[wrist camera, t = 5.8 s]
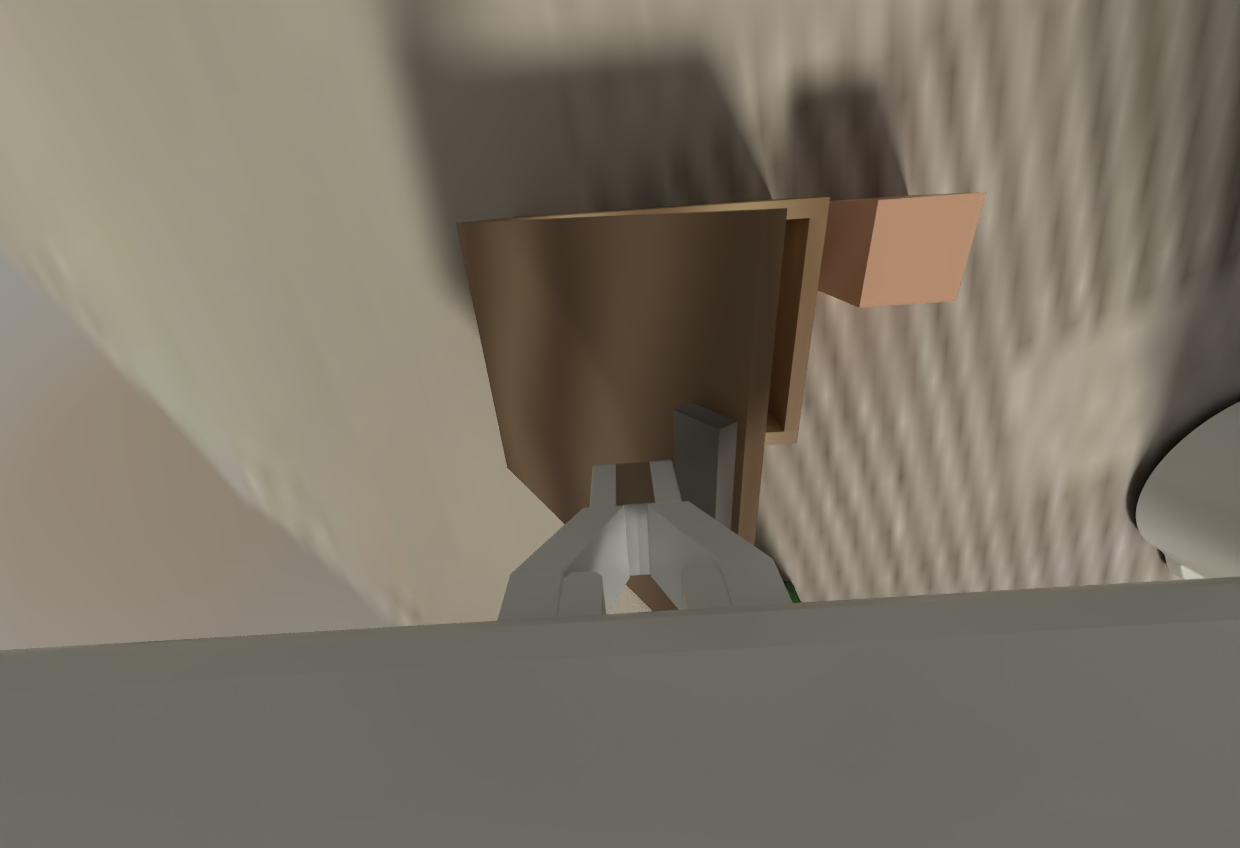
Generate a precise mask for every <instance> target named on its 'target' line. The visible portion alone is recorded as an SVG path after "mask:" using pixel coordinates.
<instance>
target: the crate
mask: <svg viewBox="0 0 1240 848" xmlns="http://www.w3.org/2000/svg"><path fill="white" fill-rule="evenodd" d="M829 202H830V197H818V198H795V199H773V200H759V201H744V202H730V203H715V204H701V205H687V206H672V207H658V208H643V209H629V210H614V211H600V212H586V213H571V214H557V215H542V216H528V217H514V218H504V219H494V220H485V221H504V220H526V219H549V218H572V217H595V216H618V215H641V214H664V213H686V212H709V211H732V210H755V209H778V208H787V219H786V229H785V239H784V249H783V259H782V270H781V280H780V290H779V300H778V310H777V321H776V331H775V341H774V351H773V361H772V372H771V382H770V392H769V402H768V412H767V423H766V433H765V443H764V445H773V444H791V443H797V438H798V430H799V423H800V416H801V408H802V401H803V394H804V386H805V379H806V372H807V364H808V357H809V349H810V342H811V335H812V327H813V320H814V313H815V305H816V298H817V291H818V283H819V276H820V268H821V261H822V254H823V246H824V239H825V232H826V224H827V217H828V209H829ZM475 222H481V221H475Z"/></svg>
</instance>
